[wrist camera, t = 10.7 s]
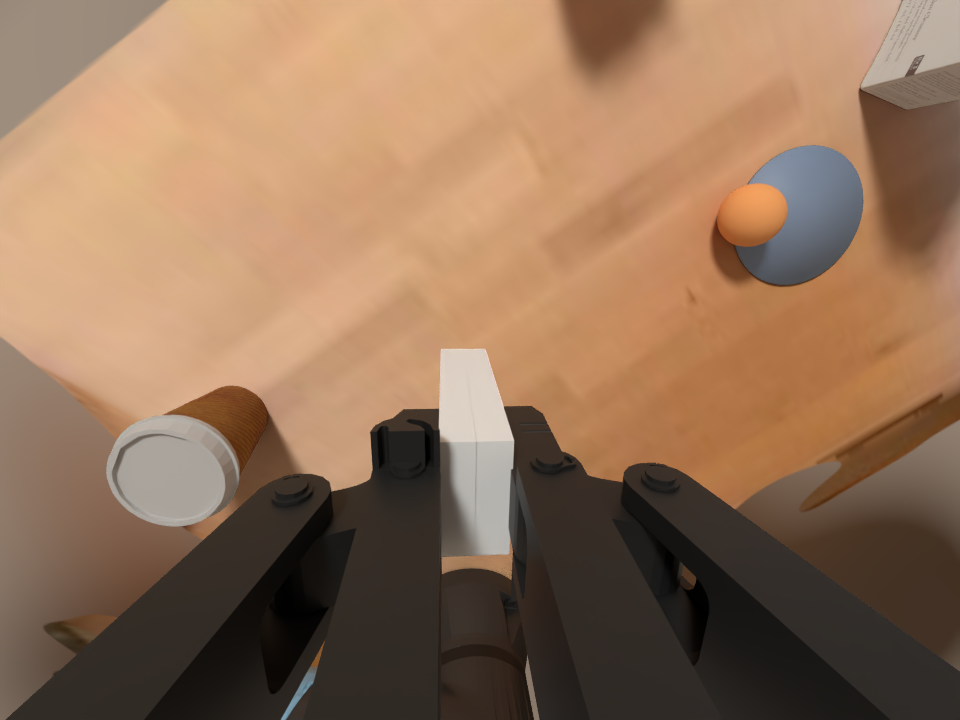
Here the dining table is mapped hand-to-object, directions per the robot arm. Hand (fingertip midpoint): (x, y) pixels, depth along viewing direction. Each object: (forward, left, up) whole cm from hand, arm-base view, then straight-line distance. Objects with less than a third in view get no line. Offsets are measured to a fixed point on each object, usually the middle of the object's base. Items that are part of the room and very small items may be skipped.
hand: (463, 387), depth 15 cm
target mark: (+6, -34, -29) cm, 45 cm away
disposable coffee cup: (-14, +22, -30) cm, 39 cm away
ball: (+6, -27, -27) cm, 39 cm away
